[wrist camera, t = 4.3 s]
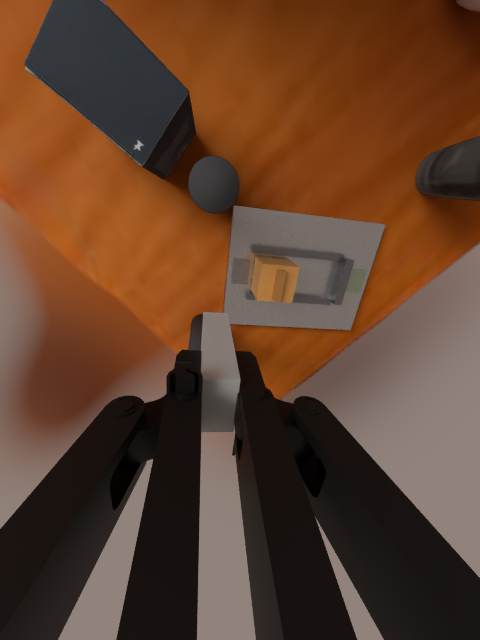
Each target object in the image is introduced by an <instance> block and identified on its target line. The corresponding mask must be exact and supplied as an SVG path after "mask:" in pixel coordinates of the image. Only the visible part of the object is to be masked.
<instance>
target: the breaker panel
mask: <svg viewBox="0 0 480 640" xmlns="http://www.w3.org/2000/svg"><path fill="white" fill-rule="evenodd" d="M385 225H386V224H379V223H371V222H363V221H355V220H347V219H339V218H331V217H323V216H315V215H307V214H299V213H291V212H283V211H275V210H267V209H259V208H251V207H243V206H235V205H233V207H232V218H231V228H230V239H229V249H228V260H227V271H226V281H225V292H224V302H223V313H228V317H229V322H230V324H242V325H261V326H280V327H299V328H318V329H337V330H351V327H352V324H353V321H354V318H355V315H356V312H357V309H358V306H359V303H360V300H361V297H362V294H363V291H364V288H365V285H366V282H367V279H368V276H369V273H370V270H371V267H372V264H373V261H374V258H375V255H376V252H377V249H378V246H379V243H380V240H381V237H382V234H383V231H384V228H385ZM255 256H261V257H272V258H282V259H289V260H291V261H292V262H293V263H295V264H296V265H297V266H299V267H300V268H299V273H298V278H297V282H296V287H295V292H294V296H293V301H292V303H283V302H268V301H257V300H256V298H255V296H254V294H253V292H252V290H251V284H252V277H253V270H254V263H255Z"/></svg>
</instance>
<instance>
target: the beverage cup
mask: <svg viewBox="0 0 480 640" xmlns="http://www.w3.org/2000/svg"><path fill="white" fill-rule="evenodd" d="M416 186H417V189H418V190H419V191H420V192H421V193H422V194H425V195H431V196H435V197H443V198H453V199H463V200H472V201H480V136H479V137H476V138H473V139H470V140H466V141H463V142H460V143H457V144H454V145H451V146H449V147H446V148H443V149H442V150H439V151H436V152H433V153H431V154H430V155H428V156H427V157H426V158H425V159H424V160H423V161H422V163H421V164H420V166H419V168H418V170H417V174H416Z"/></svg>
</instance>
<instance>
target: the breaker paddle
mask: <svg viewBox="0 0 480 640" xmlns="http://www.w3.org/2000/svg"><path fill="white" fill-rule="evenodd" d="M299 268H300V267H299V266H297V265H296V264H295V263H293V262H292V261H291V260H289V259H282V258H272V257H261V256H255V263H254V270H253V277H252V284H251V290H252V292H253V294H254V296H255V298H256V300H257V301H268V302H283V303H292V301H293V296H294V292H295V287H296V282H297V278H298V273H299Z"/></svg>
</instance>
